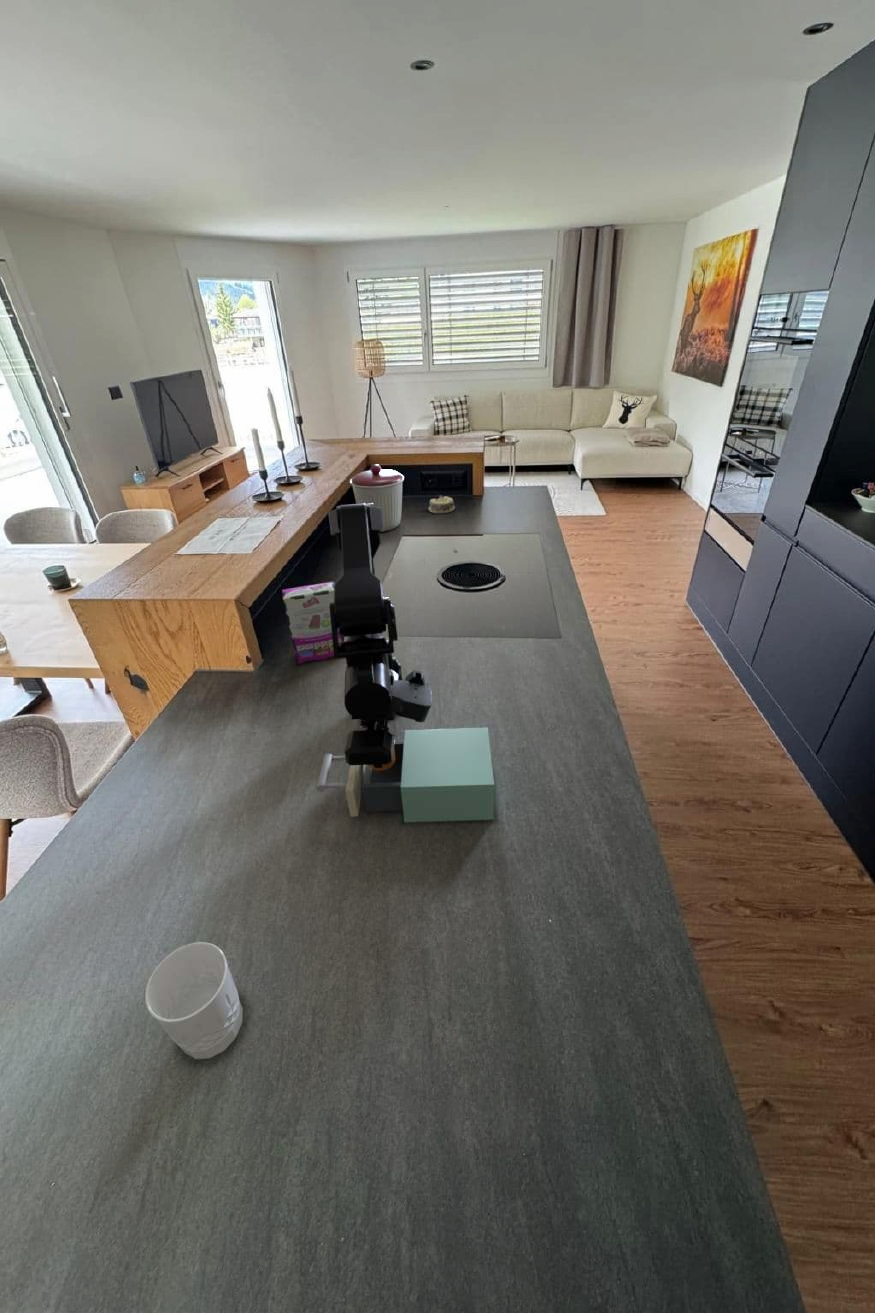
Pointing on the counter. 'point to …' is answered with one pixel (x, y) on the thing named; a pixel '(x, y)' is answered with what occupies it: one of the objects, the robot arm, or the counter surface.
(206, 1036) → the white cup
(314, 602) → the candy bar box
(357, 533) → the robot arm
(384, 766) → the coffee pod
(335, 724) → the counter surface
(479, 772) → the pale green block
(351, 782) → the drawer
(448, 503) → the cake
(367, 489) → the canister
